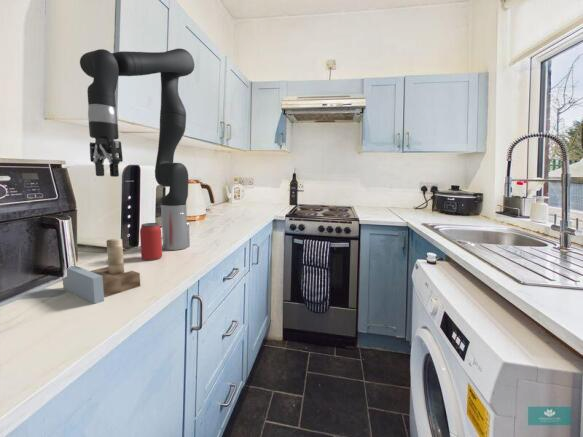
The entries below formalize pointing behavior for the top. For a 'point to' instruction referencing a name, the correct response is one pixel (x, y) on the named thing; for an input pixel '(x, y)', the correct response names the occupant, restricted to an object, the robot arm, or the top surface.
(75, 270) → the wall
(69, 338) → the top surface
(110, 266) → the dowel
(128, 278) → the block
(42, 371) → the top surface
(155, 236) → the beer can
